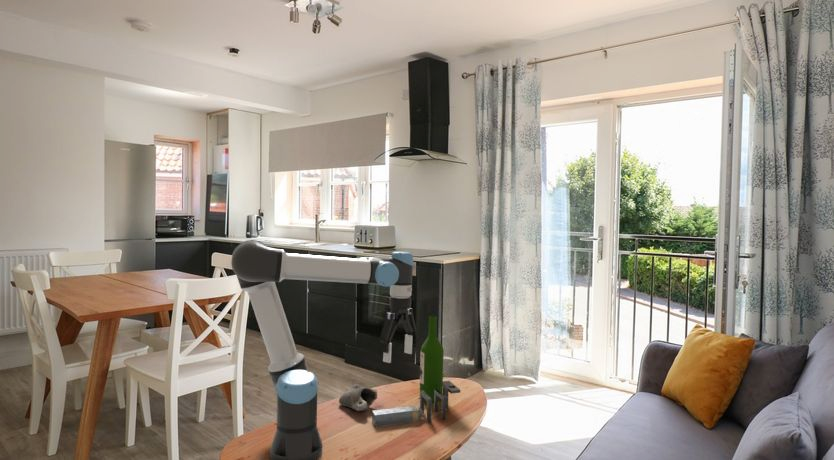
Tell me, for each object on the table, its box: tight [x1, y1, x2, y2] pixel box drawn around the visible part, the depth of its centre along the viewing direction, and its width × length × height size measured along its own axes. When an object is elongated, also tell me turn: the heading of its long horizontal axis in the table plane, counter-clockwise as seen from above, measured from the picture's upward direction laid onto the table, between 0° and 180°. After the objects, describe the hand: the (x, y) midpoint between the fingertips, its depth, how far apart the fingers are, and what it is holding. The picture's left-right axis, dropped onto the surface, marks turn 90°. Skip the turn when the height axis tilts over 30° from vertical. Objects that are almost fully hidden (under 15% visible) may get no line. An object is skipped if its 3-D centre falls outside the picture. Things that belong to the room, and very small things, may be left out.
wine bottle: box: [419, 315, 444, 405], centre depth 188 cm, size 9×9×32 cm
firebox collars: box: [419, 380, 461, 424], centre depth 175 cm, size 12×10×10 cm
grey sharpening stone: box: [371, 405, 424, 428], centre depth 168 cm, size 18×4×4 cm, turn 110°
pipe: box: [338, 383, 378, 412], centre depth 180 cm, size 16×9×15 cm
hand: (397, 357), depth 168 cm, fingers open, 13 cm apart
